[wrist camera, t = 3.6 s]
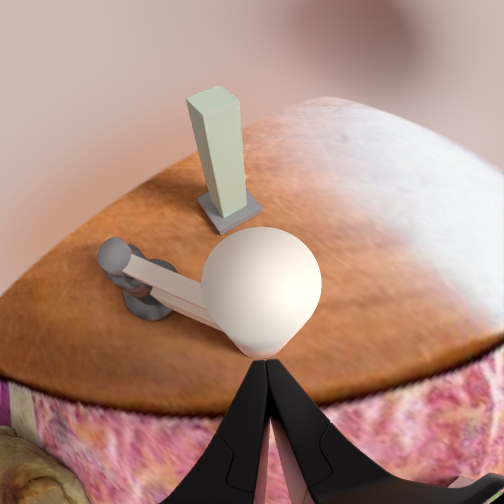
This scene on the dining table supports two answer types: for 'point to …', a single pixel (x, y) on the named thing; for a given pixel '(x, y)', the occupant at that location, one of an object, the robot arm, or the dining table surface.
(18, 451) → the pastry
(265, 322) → the gate
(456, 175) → the dining table surface
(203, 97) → the post
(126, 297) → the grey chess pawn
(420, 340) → the dining table surface
